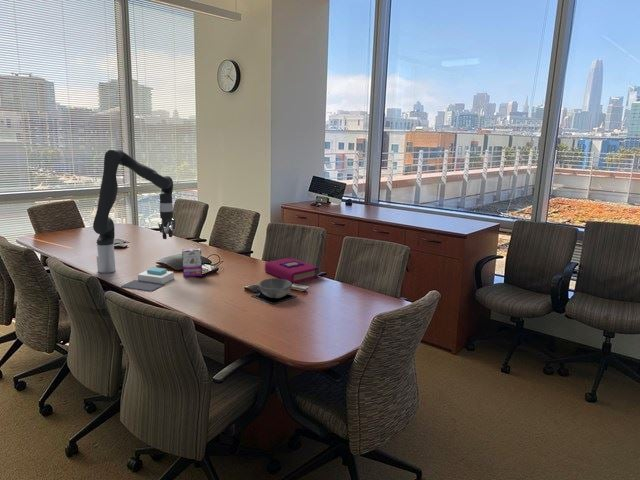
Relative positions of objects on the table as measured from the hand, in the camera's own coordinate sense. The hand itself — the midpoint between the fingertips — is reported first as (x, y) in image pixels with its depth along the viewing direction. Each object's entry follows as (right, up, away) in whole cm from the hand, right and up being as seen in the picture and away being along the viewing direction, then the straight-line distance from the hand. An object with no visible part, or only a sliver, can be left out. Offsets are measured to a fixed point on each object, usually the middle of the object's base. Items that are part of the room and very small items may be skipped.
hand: (167, 237), depth 286 cm
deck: (-5, -25, -7) cm, 26 cm away
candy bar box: (+14, -23, +3) cm, 27 cm away
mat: (-8, -27, -18) cm, 34 cm away
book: (+74, -24, +10) cm, 78 cm away
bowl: (+67, -32, -28) cm, 79 cm away
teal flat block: (-4, -20, -7) cm, 22 cm away
